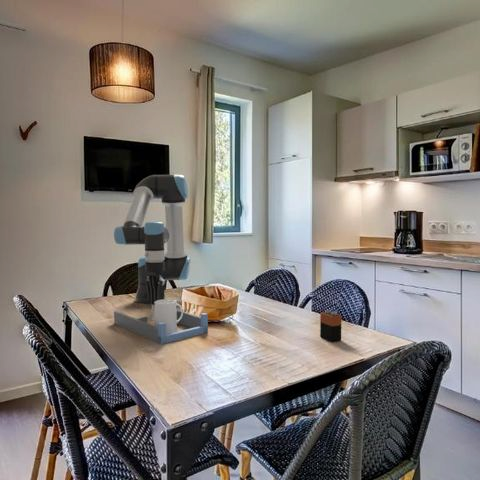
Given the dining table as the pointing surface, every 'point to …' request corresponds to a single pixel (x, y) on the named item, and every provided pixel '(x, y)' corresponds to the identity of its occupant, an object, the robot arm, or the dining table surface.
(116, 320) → the grey rectangular frame
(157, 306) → the mug
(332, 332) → the battery
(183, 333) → the blue bezel
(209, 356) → the dining table surface
